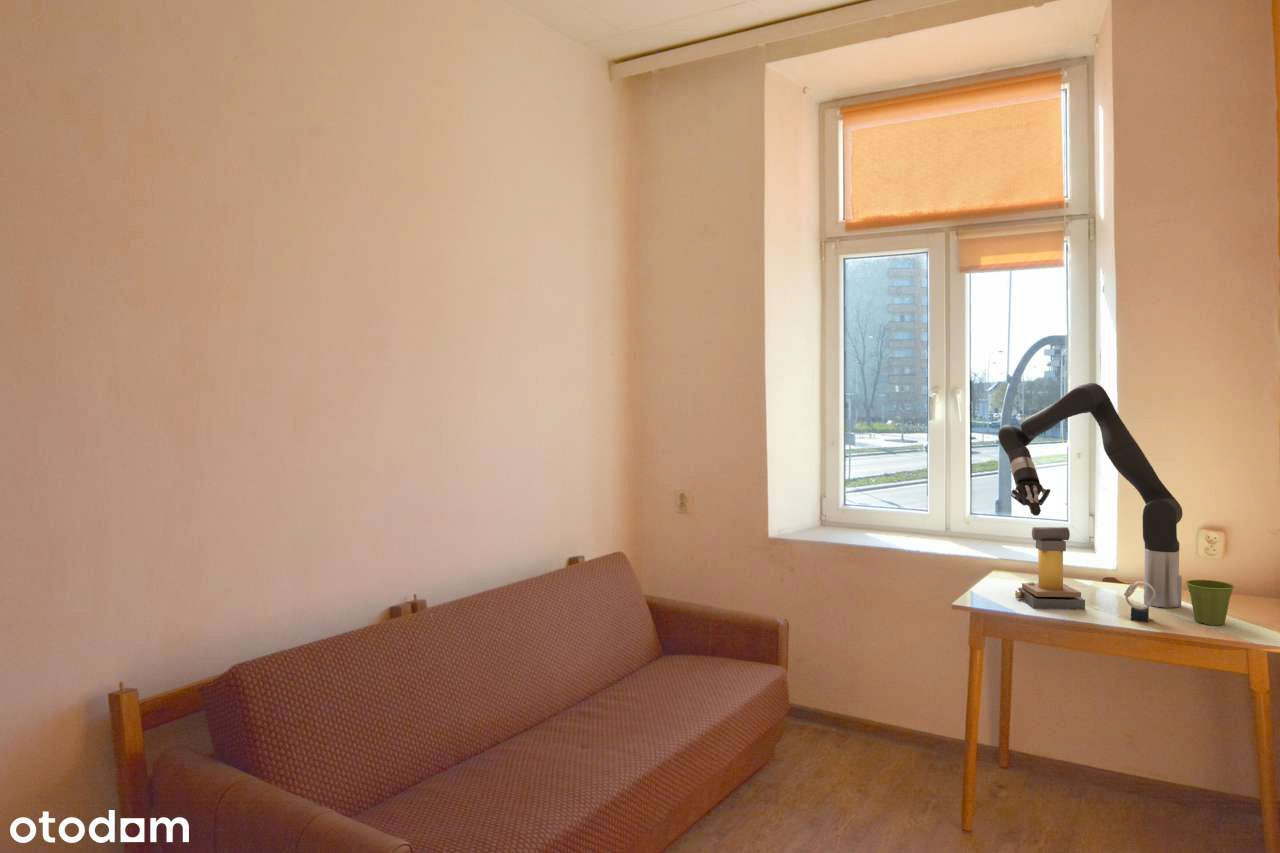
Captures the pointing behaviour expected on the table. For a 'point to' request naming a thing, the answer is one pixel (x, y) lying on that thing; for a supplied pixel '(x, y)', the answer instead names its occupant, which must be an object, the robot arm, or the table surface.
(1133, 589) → the watch
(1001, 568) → the table surface
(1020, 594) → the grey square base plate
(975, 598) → the table surface
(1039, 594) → the wooden pedestal stand
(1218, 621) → the plant pot
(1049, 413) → the robot arm
